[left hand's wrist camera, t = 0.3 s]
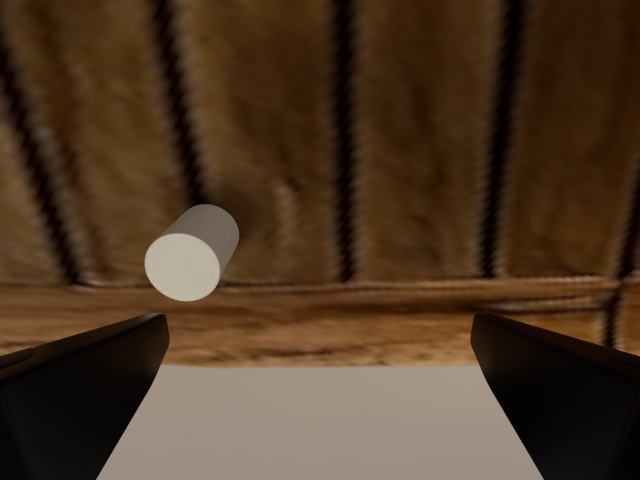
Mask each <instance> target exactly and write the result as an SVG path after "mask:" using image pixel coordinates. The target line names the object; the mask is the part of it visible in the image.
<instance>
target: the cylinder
mask: <svg viewBox="0 0 640 480" xmlns="http://www.w3.org/2000/svg"><path fill="white" fill-rule="evenodd" d="M238 241H239V230H238V227H237V224H236V222H235V220H234V219H233V217H232V216H231V215H230V214H229V213H228V212H227V211H225V210H224V209H222V208H220V207H217V206H214V205H209V204H202V205H197V206H194V207H192V208H190V209H188V210H187V211H186V212H185V213H184V214H183V215H182V216H181V217H179V218H178V219H177V220H176V221H175V222H174V223H173V224H172V225H171V226H170V227H169V228H168V229H167V230H166V231H165V232H164V233H163V234H162V235H160V236H159V237H158V238H157V239H156V240H155V241H154V242H153V243H152V244H151V246H150V247H149V249H148V251H147V253H146V256H145V269H146V273H147V276H148V278H149V280H150V281H151V283H152V284H153V285H154V287H155V288H156V289H157V290H159V291H160V292H161V293H163V294H164V295H166V296H168V297H170V298H173V299H176V300H180V301H194V300H198V299H201V298H203V297H205V296H207V295H208V294H210V293H211V292H212V291H213V290H214V289H215V287H216V286H217V284H218V282H219V280H220V278H221V276H222V274H223V272H224V270H225V268H226V266H227V264H228V263H229V261H230V259H231V257H232V255H233V253H234V251H235V249H236V247H237V245H238Z"/></svg>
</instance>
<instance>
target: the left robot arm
mask: <svg viewBox="0 0 640 480" xmlns="http://www.w3.org/2000/svg"><path fill="white" fill-rule="evenodd" d="M168 346H169V331H168V325H167V319H166V316H165V314H164V313H148V314H145V315H142V316H138V317H135V318H131V319H128V320H125V321H121V322H118V323H114V324H111V325H108V326H104V327H101V328H97V329H94V330H91V331H87V332H84V333H80V334H77V335H74V336H70V337H67V338H63V339H60V340H57V341H53V342H50V343H46V344H43V345H40V346H36V347H35V348H33V347H31V348H28V349H24V350H21V351H17V352H14V353H10V354H7V355H3V356H0V480H96V479H97V477H98V475H99V474H100V472H101V470H102V468H103V467H104V465H105V463H106V462H107V460H108V458H109V457H110V455H111V453H112V451H113V450H114V448H115V446H116V445H117V443H118V441H119V440H120V438H121V436H122V434H123V433H124V431H125V429H126V428H127V426H128V424H129V423H130V421H131V419H132V418H133V416H134V414H135V412H136V411H137V409H138V407H139V406H140V404H141V402H142V401H143V399H144V397H145V395H146V394H147V392H148V390H149V389H150V387H151V385H152V383H153V381H154V379H155V377H156V374H157V372H158V370H159V367H160V365H161V363H162V360H163V358H164V356H165V353H166V351H167V349H168ZM471 346H472V349H473V351H474V353H475V356H476V358H477V360H478V363H479V365H480V367H481V370H482V372H483V374H484V377H485V379H486V381H487V383H488V385H489V387H490V388H491V390H492V392H493V394H494V395H495V397H496V399H497V401H498V402H499V404H500V406H501V407H502V409H503V411H504V412H505V414H506V416H507V418H508V419H509V421H510V423H511V424H512V426H513V428H514V429H515V431H516V433H517V435H518V436H519V438H520V440H521V441H522V443H523V445H524V446H525V448H526V450H527V452H528V453H529V455H530V456H531V458H532V460H533V462H534V463H535V465H536V467H537V469H538V470H539V472H540V474H541V475H542V477H543V479H544V480H640V356H637V355H633V354H630V353H626V352H623V351H619V350H616V349H612V348H609V347H607V348H605V347H604V346H600V345H597V344H594V343H590V342H587V341H583V340H580V339H577V338H573V337H570V336H566V335H563V334H560V333H556V332H553V331H549V330H546V329H543V328H539V327H536V326H532V325H529V324H526V323H522V322H519V321H515V320H512V319H509V318H505V317H502V316H498V315H495V314H492V313H476V314H475V316H474V319H473V325H472V331H471Z"/></svg>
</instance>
